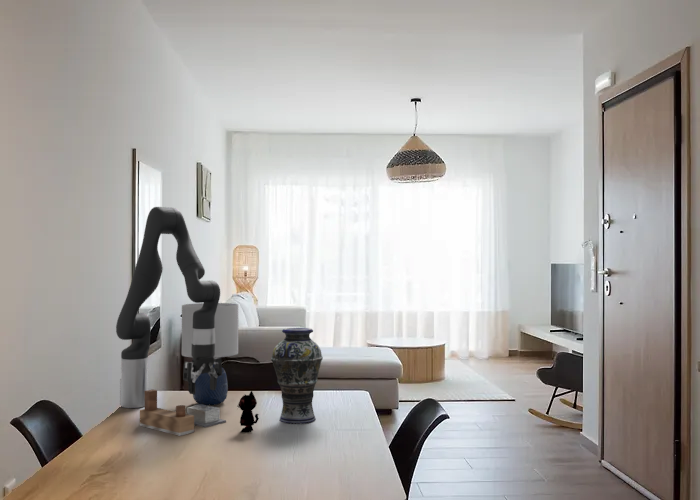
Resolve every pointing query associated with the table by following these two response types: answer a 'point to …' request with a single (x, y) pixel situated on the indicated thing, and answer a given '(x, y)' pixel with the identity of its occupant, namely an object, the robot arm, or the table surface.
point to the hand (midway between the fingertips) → (202, 391)
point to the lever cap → (204, 413)
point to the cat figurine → (247, 412)
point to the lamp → (223, 347)
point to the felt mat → (209, 423)
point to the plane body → (165, 417)
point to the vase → (297, 374)
